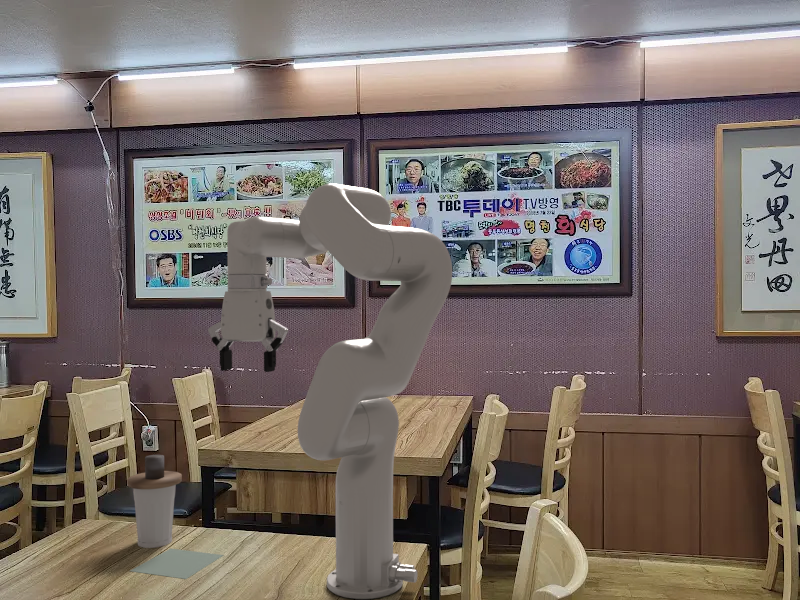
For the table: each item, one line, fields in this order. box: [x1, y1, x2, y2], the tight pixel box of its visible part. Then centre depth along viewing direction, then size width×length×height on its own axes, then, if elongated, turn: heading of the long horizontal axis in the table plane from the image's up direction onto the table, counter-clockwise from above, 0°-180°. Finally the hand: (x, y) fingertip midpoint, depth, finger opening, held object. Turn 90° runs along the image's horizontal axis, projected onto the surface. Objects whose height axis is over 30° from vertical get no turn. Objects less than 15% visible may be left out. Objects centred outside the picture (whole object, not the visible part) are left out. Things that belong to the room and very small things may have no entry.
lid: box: [126, 454, 183, 489], centre depth 137 cm, size 10×10×5 cm
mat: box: [129, 548, 224, 580], centre depth 126 cm, size 12×12×1 cm
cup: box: [132, 484, 177, 549], centre depth 137 cm, size 8×8×12 cm
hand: (247, 370), depth 140 cm, fingers open, 9 cm apart
